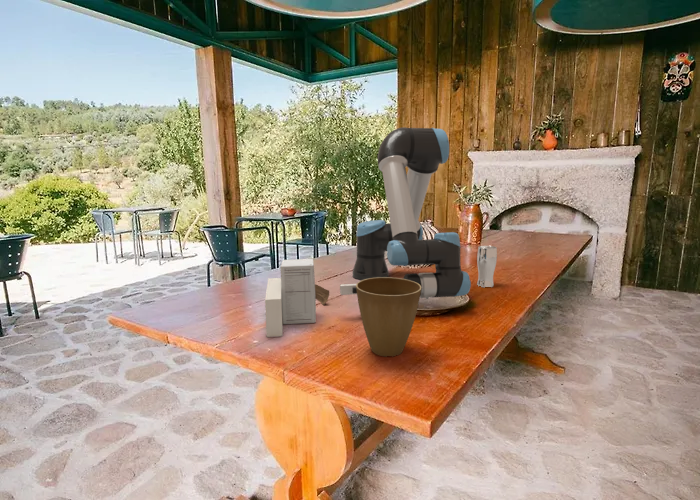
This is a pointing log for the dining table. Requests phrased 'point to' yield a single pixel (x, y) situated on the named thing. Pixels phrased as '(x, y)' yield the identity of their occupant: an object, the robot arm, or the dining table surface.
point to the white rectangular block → (273, 308)
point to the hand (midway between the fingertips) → (340, 289)
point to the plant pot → (387, 312)
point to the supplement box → (298, 291)
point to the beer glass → (486, 265)
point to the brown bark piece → (321, 294)
